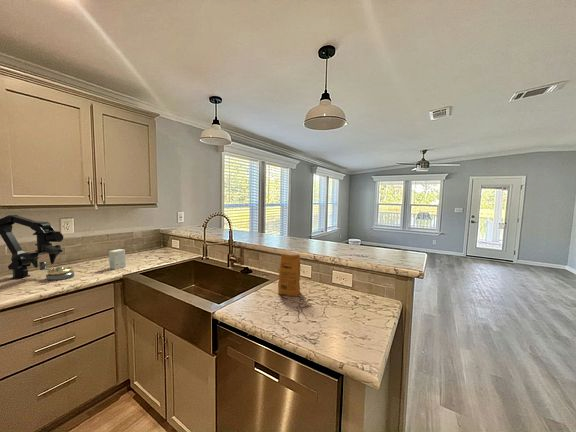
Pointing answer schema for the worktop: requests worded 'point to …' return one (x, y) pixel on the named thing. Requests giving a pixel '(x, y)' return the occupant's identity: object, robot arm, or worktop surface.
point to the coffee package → (289, 275)
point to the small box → (117, 259)
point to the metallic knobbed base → (56, 271)
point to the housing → (59, 277)
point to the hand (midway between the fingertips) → (44, 265)
